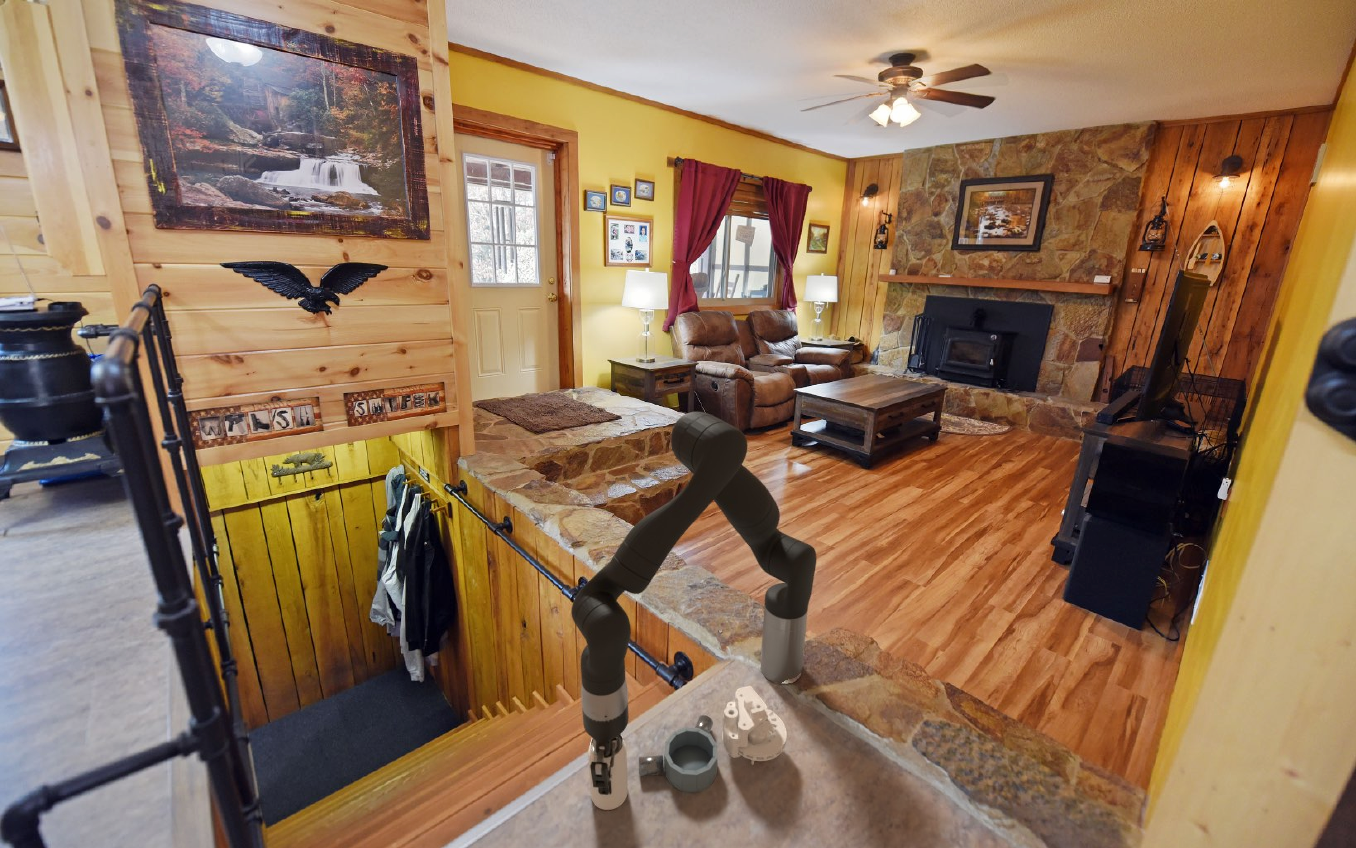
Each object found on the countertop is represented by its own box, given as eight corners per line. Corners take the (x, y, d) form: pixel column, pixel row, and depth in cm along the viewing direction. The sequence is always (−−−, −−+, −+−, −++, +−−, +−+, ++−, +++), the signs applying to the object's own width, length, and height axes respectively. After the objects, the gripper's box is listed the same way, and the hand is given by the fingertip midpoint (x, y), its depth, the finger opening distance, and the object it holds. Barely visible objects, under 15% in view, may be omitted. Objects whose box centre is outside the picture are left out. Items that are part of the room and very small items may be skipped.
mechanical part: (789, 778, 101) (793, 729, 97) (723, 777, 101) (725, 727, 97) (779, 726, 111) (783, 679, 107) (720, 724, 111) (721, 678, 107)
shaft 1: (662, 763, 103) (662, 751, 102) (663, 778, 100) (663, 766, 99) (638, 765, 103) (638, 753, 102) (639, 780, 100) (639, 768, 99)
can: (606, 770, 102) (603, 720, 98) (635, 787, 99) (633, 737, 95) (583, 799, 97) (579, 748, 93) (613, 819, 94) (610, 766, 90)
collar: (667, 743, 107) (667, 726, 106) (717, 747, 107) (717, 729, 105) (662, 791, 98) (662, 772, 97) (716, 795, 97) (717, 776, 96)
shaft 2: (706, 747, 106) (706, 735, 105) (691, 743, 107) (691, 731, 106) (712, 729, 110) (713, 717, 109) (698, 725, 111) (698, 713, 110)
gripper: (619, 740, 84) (623, 818, 90) (634, 669, 97) (636, 740, 103) (571, 736, 85) (577, 814, 90) (592, 666, 98) (596, 737, 104)
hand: (609, 774), depth 97 cm, fingers closed on can, 5 cm apart
